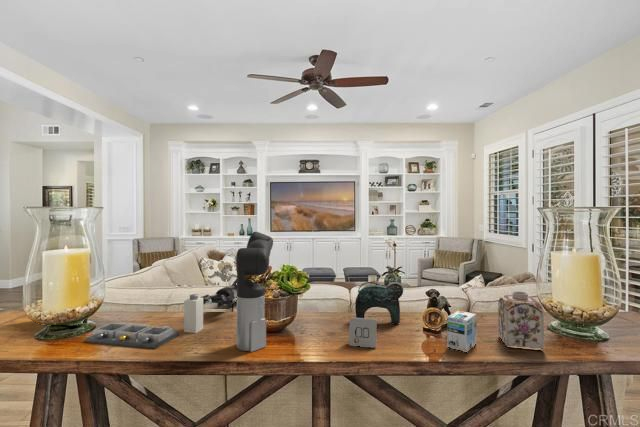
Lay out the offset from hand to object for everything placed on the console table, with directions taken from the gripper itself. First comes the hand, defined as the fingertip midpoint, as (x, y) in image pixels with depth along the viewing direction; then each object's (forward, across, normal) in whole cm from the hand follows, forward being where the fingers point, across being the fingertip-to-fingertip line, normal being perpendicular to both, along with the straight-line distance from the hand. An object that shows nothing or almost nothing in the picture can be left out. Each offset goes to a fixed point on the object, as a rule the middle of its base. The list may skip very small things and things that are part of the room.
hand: (208, 304), depth 144 cm
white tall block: (+11, 0, +7) cm, 13 cm away
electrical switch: (+12, +64, +7) cm, 66 cm away
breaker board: (+24, -16, +7) cm, 30 cm away
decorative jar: (-2, +118, +7) cm, 118 cm away
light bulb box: (+5, +98, +7) cm, 98 cm away
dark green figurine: (-15, +69, +7) cm, 71 cm away
